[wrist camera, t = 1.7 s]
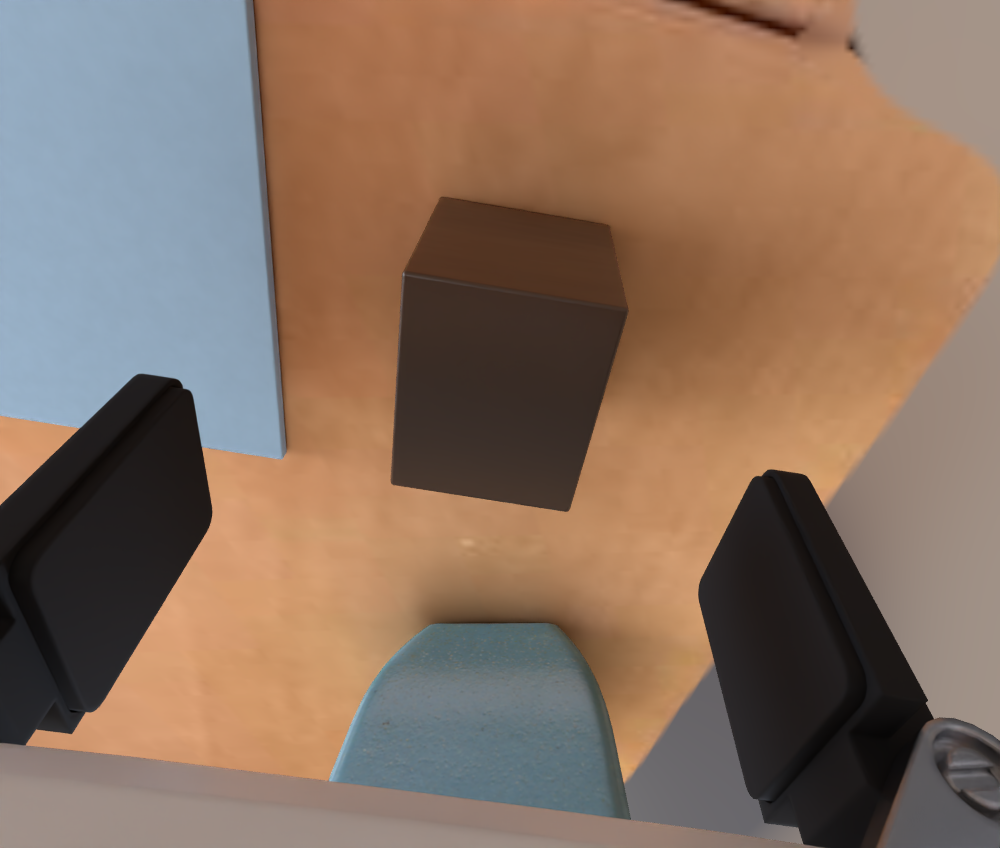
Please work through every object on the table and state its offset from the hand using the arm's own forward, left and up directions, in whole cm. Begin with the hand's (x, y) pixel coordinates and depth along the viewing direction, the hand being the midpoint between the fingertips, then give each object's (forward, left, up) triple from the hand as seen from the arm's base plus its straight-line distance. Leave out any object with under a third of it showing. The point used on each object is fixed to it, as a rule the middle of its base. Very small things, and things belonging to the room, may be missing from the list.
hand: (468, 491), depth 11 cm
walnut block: (0, 0, -7) cm, 7 cm away
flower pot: (+15, +2, -7) cm, 16 cm away
